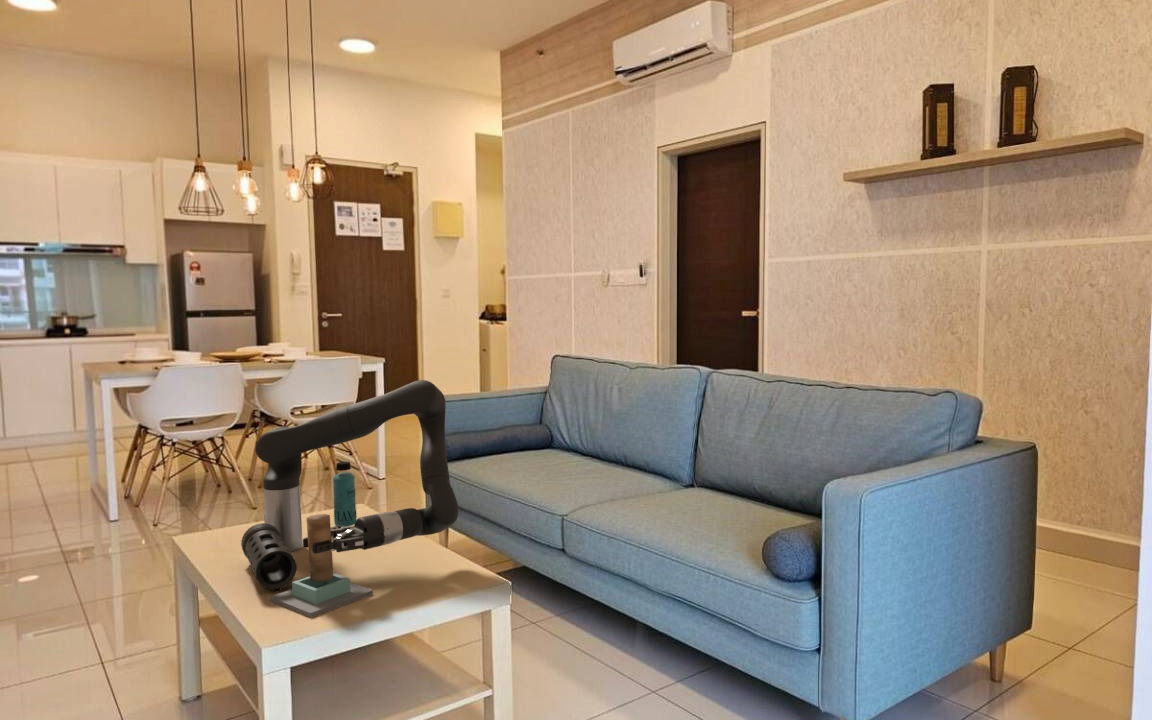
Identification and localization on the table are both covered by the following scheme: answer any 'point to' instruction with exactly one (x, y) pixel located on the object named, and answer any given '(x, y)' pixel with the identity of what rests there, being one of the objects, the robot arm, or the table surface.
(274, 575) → the muzzle brake
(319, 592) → the socket stand
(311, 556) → the walnut peg
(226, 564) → the table surface
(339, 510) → the beverage bottle
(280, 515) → the robot arm
